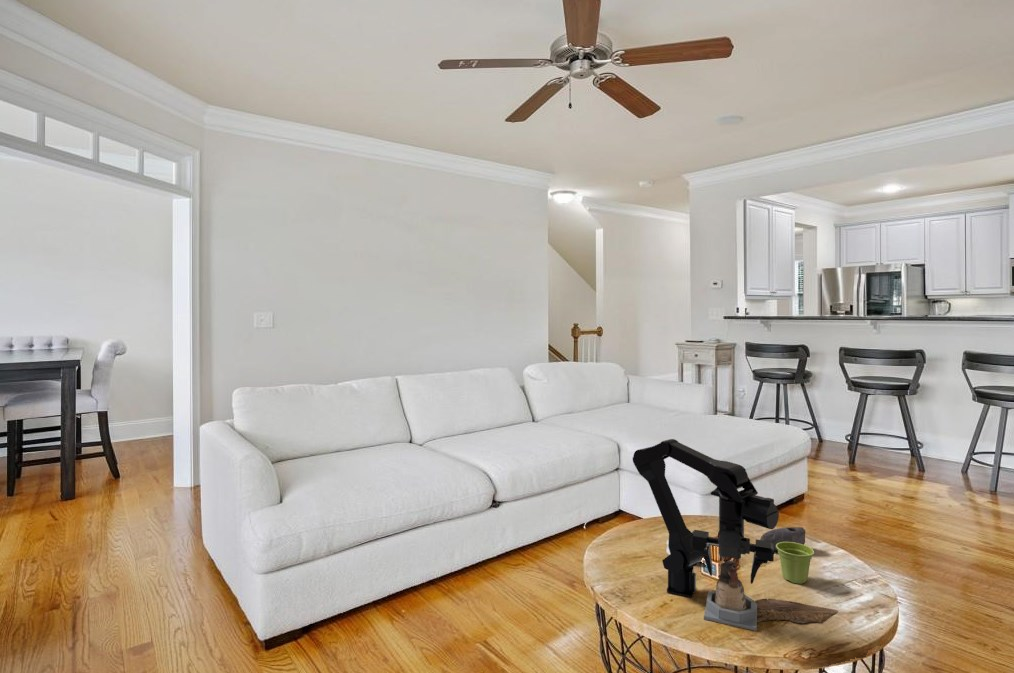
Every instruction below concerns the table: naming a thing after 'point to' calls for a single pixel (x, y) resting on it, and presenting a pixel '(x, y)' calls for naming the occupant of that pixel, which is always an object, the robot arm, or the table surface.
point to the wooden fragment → (791, 611)
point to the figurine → (730, 588)
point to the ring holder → (732, 613)
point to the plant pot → (794, 561)
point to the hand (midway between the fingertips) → (731, 579)
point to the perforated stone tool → (785, 535)
